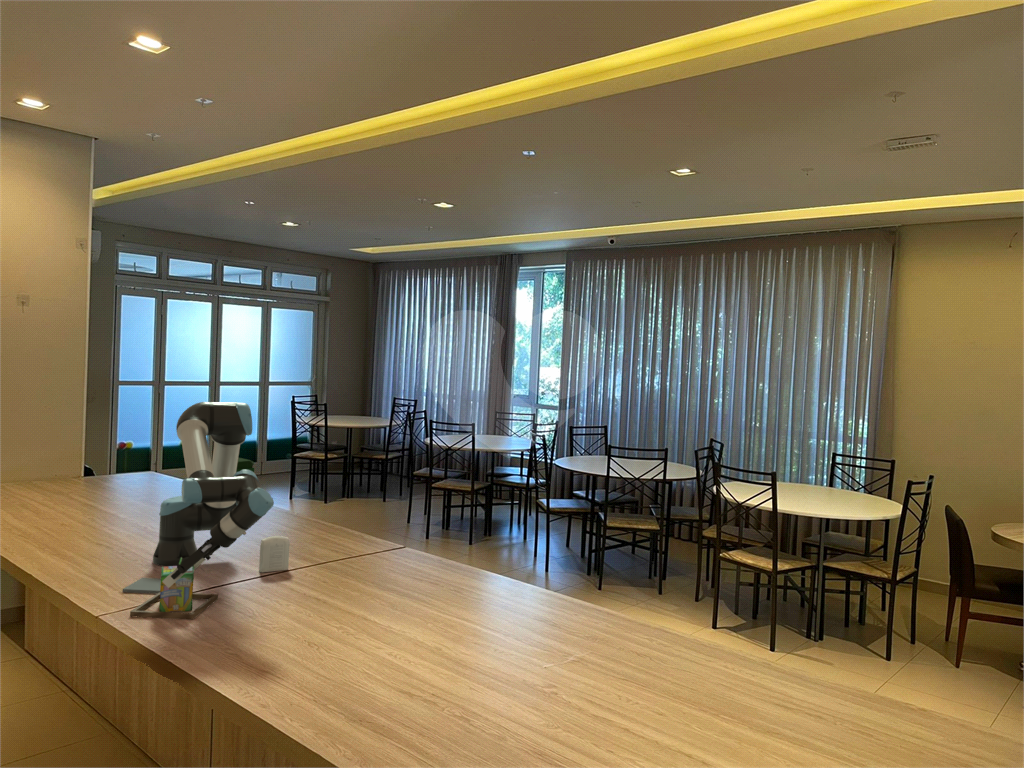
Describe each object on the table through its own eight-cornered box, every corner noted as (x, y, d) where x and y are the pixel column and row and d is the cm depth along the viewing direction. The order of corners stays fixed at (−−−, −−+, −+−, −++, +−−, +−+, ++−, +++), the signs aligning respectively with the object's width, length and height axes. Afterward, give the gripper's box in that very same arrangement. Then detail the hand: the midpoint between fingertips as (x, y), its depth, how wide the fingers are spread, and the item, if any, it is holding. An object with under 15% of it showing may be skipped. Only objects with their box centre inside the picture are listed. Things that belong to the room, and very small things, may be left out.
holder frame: (130, 616, 203) (130, 611, 203) (160, 596, 221) (160, 591, 221) (192, 619, 203) (192, 614, 203) (218, 598, 221) (218, 594, 221)
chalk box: (159, 603, 214) (161, 555, 214) (192, 601, 218) (194, 553, 218) (158, 614, 206) (160, 564, 206) (192, 611, 210) (194, 561, 209)
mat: (122, 592, 223) (122, 589, 223) (142, 580, 235) (142, 577, 235) (160, 594, 223) (160, 590, 223) (178, 582, 235) (178, 579, 235)
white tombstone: (286, 567, 258) (288, 533, 258) (289, 570, 254) (291, 536, 254) (257, 570, 252) (259, 536, 252) (260, 573, 249) (262, 539, 248)
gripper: (220, 550, 199) (165, 600, 199) (252, 529, 224) (202, 574, 224) (202, 530, 199) (147, 580, 199) (235, 512, 224) (186, 556, 224)
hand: (176, 577), depth 212 cm, fingers open, 13 cm apart
